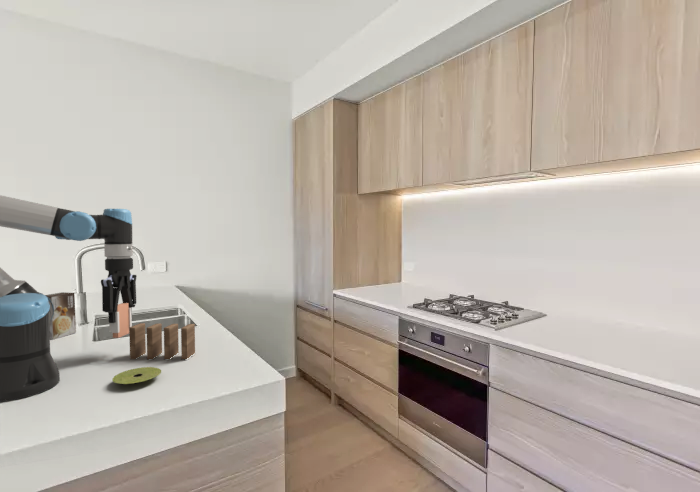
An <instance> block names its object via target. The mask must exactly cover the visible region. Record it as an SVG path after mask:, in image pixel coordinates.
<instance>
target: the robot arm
mask: <svg viewBox="0 0 700 492" xmlns="http://www.w3.org/2000/svg"><path fill="white" fill-rule="evenodd" d="M0 227H1V228H8V229H13V230H18V231H19V230H20V231H25V232H30V233H36V234H41V235H48V236H53V237H54V238H55V239H57V240H66V241H70V240H71V241H77V242H78V241H79V242H81V241H83V242H84V241H86V240H104V241H103V242H104V252H103V253H104V257H106V258H105V259H104V270H105V271H107V272H108V275H107V278H104V279H101V280H100V284H101V290H102V291H101V292H102V293H101V295H102V296H101V299H102V300H101V302H102V309H101V310H102V312H104V313H108V325H109V326H108V327H109V333H110V334H113V333H119V332H120V327H119V312H117V307H118V304H119V301H120V300H119V299H120V296H121V300H122V303H128V304H129V327H132V326H133V322H132V320H133V319H132V317H133V314H132V312H133V310H132V308H135V306H136V305H137V285H136V283H137V274H131V273H132V272H131V271H130V270H133V269H134V258H133V256H134V255H133V254H134V253H133V249H134V247H133V218H132V211H130V209H127V208H105V209H103V213H102V214H88V213H86V212H84V211H83V212H82V211H77V210H76V211H75V210H71V209H66V208H60V207H58V206H57V207H56V206H52V205H47V204H43V203H38V202H33V201H30V200H29V201H28V200H25V199H20V198H15V197H10V196H6V195H1V194H0ZM46 295H47V294H43V293H41V292H39V291H37V290H36V289H35V288H34V287H33V286H32V285H30V284H29V283H28V282H27V281H26V280H23V279H22V280H18V279H14V278H13V277H12V276H11V275H10V274H8V273H7V272H6V271H5V270H4V269H3V268H2V267H0V402H8V401H14V400H18V399H19V400H20V399H23V398H27V397H31V396H34V395H37V394H40V393H44V392H46V391H48V390H50V389H53V387H55V386H57V385H58V384H59V383H60V381H61V379H60V371H59V369H58V367H57V365H56V362H55V360H54V358H53V357H52V354H51V339H50V322H51V320H52V318H53V315H54V307H53V304H52V302H51V300H50V299H49V298H48V297H47V296H46Z"/></svg>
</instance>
